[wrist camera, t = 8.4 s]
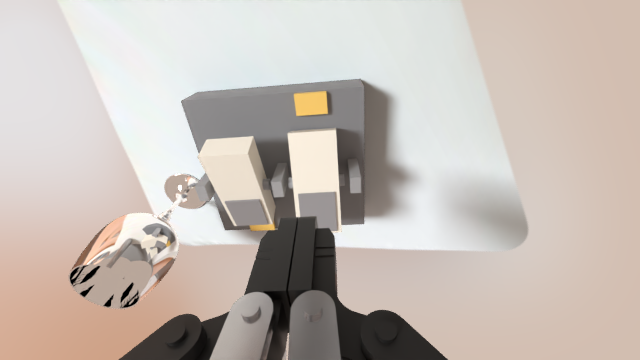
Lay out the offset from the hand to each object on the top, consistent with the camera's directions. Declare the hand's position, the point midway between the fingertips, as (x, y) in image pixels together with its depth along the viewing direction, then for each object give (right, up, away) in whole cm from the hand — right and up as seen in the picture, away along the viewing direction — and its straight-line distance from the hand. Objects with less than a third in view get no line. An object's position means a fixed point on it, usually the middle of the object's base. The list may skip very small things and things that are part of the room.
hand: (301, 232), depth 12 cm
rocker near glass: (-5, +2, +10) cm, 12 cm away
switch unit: (-2, +5, +14) cm, 15 cm away
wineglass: (-13, +1, +17) cm, 22 cm away
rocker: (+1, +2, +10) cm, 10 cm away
